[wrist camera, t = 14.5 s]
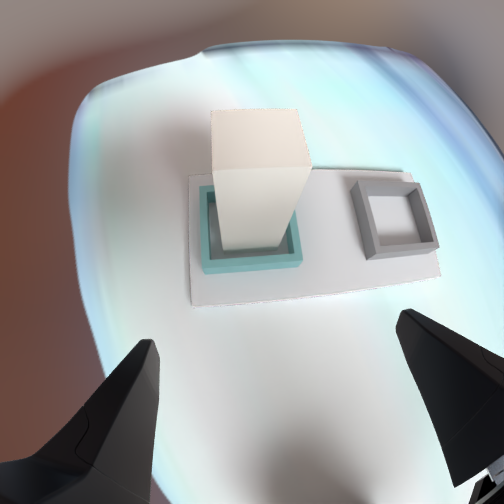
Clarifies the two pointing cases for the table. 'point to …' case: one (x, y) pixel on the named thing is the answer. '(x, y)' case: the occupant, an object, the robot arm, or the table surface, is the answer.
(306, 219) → the socket board
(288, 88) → the table surface
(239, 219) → the plug
